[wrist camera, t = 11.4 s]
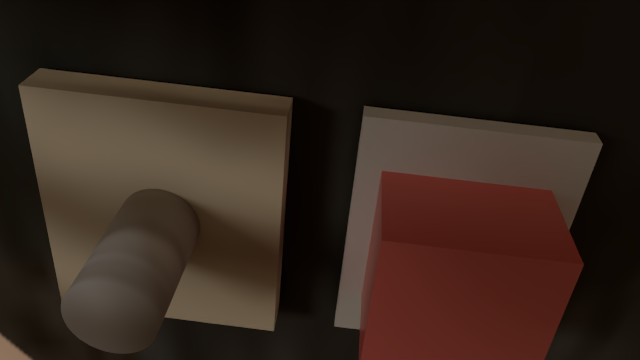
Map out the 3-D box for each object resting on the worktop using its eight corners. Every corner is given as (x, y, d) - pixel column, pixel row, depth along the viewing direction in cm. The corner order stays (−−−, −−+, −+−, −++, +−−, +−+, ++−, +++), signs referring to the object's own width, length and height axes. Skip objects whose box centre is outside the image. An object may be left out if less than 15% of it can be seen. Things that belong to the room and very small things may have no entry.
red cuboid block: (361, 294, 25) (358, 373, 21) (381, 170, 21) (381, 240, 18) (508, 313, 24) (529, 395, 21) (551, 190, 21) (583, 264, 18)
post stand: (39, 68, 21) (-80, 161, 16) (292, 97, 21) (261, 202, 16) (77, 280, 27) (-2, 404, 21) (279, 305, 26) (251, 438, 21)
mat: (364, 106, 21) (363, 116, 20) (595, 132, 21) (602, 144, 20) (335, 312, 26) (334, 326, 26) (518, 335, 26) (522, 350, 25)
